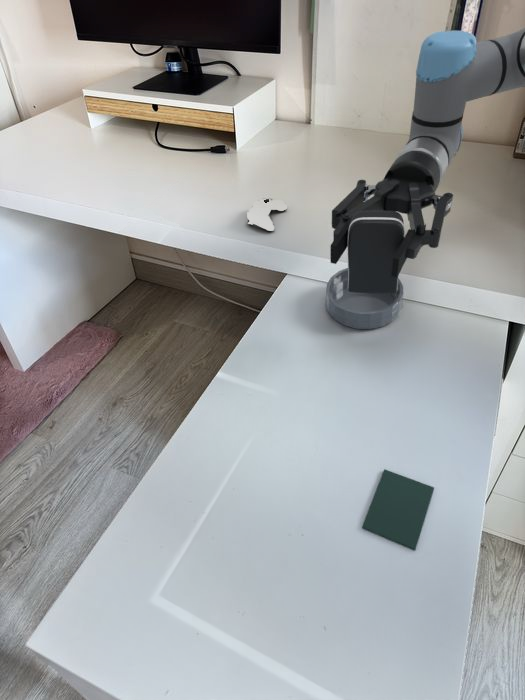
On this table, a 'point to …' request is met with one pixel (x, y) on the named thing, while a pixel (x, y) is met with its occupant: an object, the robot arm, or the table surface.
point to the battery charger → (373, 251)
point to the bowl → (361, 304)
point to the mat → (398, 509)
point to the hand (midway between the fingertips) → (363, 261)
